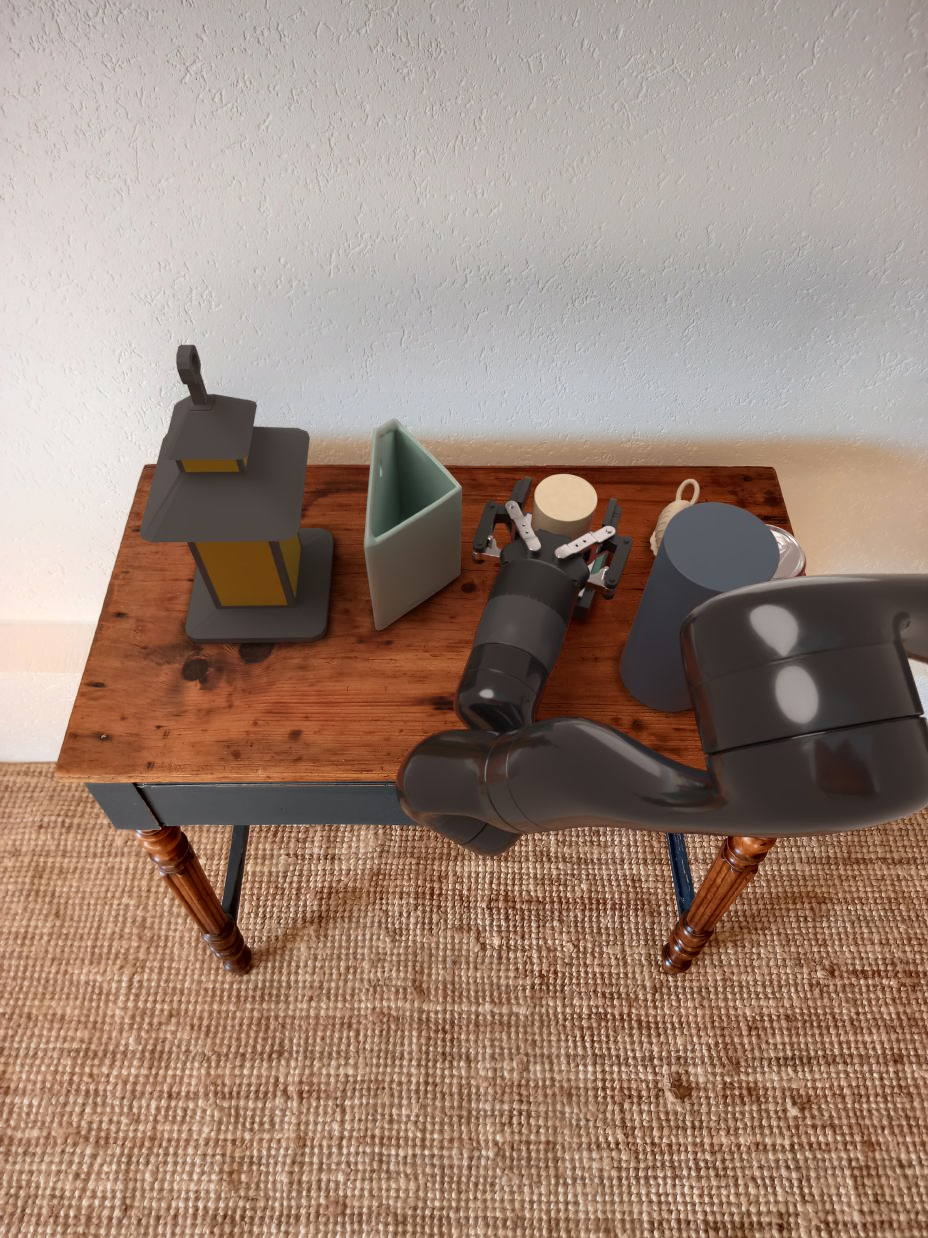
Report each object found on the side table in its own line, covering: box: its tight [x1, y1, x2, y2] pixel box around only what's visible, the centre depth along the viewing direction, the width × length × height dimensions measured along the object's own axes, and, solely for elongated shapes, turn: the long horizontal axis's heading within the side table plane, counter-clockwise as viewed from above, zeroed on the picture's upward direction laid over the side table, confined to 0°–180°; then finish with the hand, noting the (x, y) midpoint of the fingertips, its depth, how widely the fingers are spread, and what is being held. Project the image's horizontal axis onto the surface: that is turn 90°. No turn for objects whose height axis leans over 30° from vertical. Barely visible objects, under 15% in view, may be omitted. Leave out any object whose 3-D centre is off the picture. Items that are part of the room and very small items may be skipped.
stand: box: [619, 501, 780, 713], centre depth 71 cm, size 9×9×20 cm
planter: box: [363, 417, 463, 631], centre depth 78 cm, size 16×8×20 cm, turn 174°
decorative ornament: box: [649, 478, 701, 557], centre depth 87 cm, size 4×8×5 cm, turn 147°
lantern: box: [139, 344, 335, 645], centre depth 72 cm, size 14×14×30 cm
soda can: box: [766, 524, 807, 580], centre depth 78 cm, size 7×7×12 cm
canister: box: [531, 473, 598, 541], centre depth 80 cm, size 6×6×9 cm
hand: (569, 493), depth 79 cm, fingers open, 8 cm apart
